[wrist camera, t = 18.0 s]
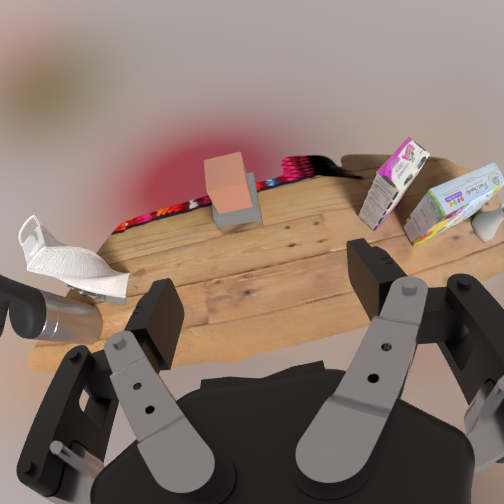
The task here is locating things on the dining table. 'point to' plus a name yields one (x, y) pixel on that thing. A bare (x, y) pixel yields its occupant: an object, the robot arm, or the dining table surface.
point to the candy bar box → (392, 182)
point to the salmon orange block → (227, 183)
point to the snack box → (452, 202)
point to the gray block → (243, 214)
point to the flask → (488, 223)
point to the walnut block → (242, 227)
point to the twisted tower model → (73, 266)
